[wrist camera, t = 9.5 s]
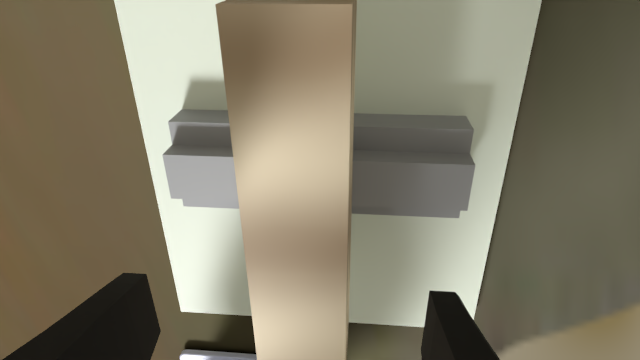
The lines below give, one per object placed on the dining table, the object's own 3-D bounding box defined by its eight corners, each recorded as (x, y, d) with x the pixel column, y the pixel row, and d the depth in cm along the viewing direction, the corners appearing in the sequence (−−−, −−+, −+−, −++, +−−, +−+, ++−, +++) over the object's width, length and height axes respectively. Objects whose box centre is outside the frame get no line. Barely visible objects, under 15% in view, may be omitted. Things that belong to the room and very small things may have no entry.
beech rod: (348, 314, 20) (343, 415, 16) (284, 310, 21) (262, 408, 16) (357, -16, 14) (352, 4, 9) (262, -16, 14) (215, 4, 10)
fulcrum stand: (467, 316, 24) (482, 370, 21) (187, 298, 26) (163, 347, 23) (556, -118, 15) (604, -133, 12) (105, -108, 16) (44, -120, 13)
